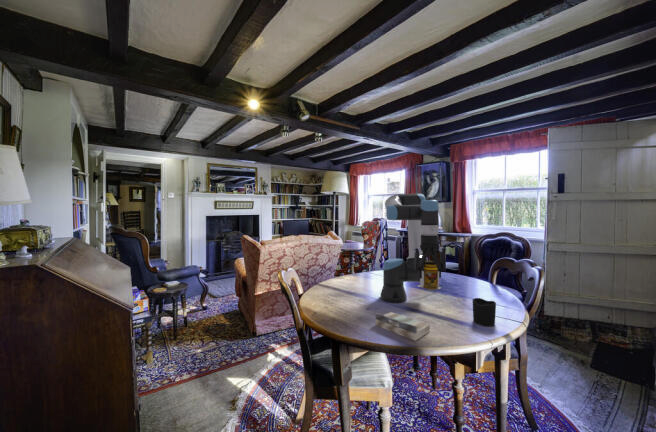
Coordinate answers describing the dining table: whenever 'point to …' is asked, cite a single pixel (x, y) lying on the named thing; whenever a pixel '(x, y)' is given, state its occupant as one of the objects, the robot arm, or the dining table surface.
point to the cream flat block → (402, 325)
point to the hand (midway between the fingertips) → (429, 285)
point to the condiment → (430, 276)
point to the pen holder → (484, 312)
